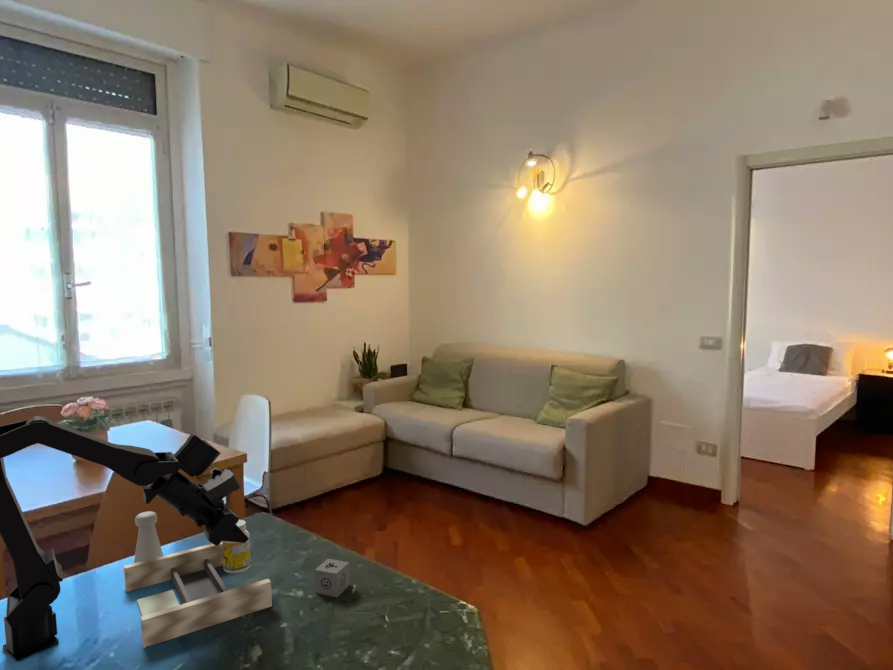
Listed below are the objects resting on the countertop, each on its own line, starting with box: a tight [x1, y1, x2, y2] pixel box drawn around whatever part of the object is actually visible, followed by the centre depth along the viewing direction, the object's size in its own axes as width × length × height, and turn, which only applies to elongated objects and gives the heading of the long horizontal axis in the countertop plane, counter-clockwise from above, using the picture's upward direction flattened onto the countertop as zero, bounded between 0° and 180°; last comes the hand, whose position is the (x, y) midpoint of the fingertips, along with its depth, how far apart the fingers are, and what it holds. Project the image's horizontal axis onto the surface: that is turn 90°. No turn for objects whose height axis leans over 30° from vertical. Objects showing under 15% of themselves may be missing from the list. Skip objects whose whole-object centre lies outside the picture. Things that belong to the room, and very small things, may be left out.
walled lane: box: [123, 542, 273, 649], centre depth 120 cm, size 22×24×5 cm
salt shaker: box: [133, 510, 164, 563], centre depth 130 cm, size 6×6×13 cm
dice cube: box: [314, 558, 351, 598], centre depth 123 cm, size 5×5×5 cm
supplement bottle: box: [222, 519, 252, 575], centre depth 124 cm, size 5×5×10 cm
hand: (242, 535), depth 124 cm, fingers closed on supplement bottle, 5 cm apart
